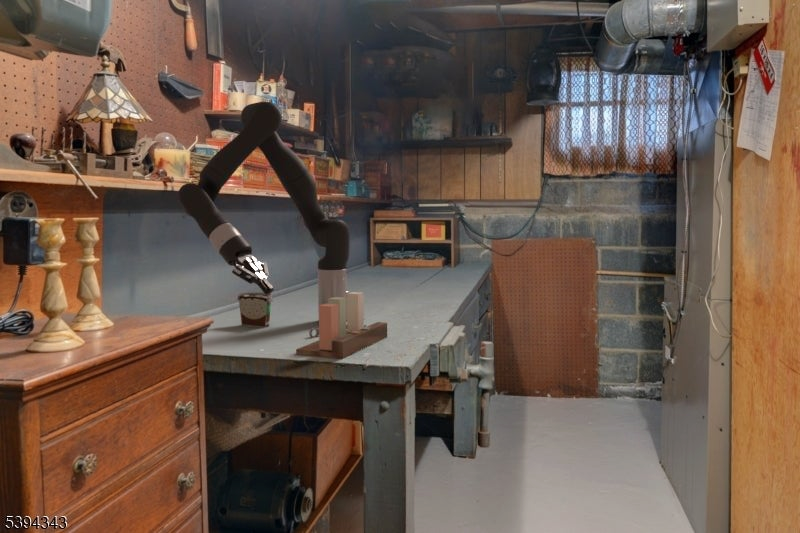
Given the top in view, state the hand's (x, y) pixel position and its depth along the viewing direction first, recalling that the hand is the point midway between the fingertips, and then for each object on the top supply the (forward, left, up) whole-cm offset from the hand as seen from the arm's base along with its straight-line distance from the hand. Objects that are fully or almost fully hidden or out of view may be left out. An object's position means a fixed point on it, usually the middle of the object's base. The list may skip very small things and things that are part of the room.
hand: (270, 292), depth 155 cm
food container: (-16, -31, -15) cm, 38 cm away
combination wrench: (-25, -3, -15) cm, 30 cm away
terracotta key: (-6, +16, -13) cm, 22 cm away
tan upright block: (-25, +4, -13) cm, 29 cm away
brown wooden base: (-16, +10, -15) cm, 24 cm away
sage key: (-15, +8, -13) cm, 22 cm away
